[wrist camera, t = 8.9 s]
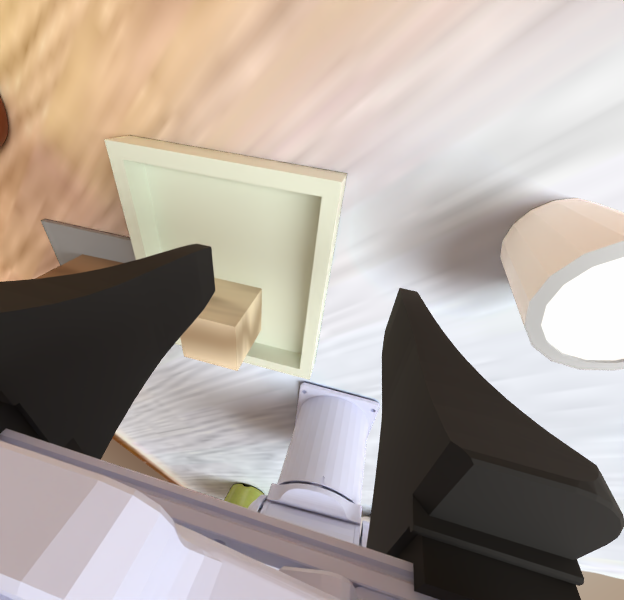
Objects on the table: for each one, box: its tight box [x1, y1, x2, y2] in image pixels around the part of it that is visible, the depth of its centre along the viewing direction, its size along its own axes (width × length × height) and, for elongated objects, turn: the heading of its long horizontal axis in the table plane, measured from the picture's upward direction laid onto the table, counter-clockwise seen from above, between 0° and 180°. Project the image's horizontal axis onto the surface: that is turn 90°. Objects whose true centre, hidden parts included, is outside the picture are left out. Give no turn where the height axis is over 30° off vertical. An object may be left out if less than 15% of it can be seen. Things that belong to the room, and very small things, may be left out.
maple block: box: [180, 278, 262, 371], centre depth 24 cm, size 4×4×5 cm
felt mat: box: [41, 219, 136, 266], centre depth 29 cm, size 11×10×1 cm
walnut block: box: [36, 254, 123, 279], centre depth 26 cm, size 4×4×5 cm
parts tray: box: [104, 135, 347, 380], centre depth 24 cm, size 17×15×2 cm
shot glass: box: [500, 198, 624, 370], centre depth 15 cm, size 7×7×7 cm
